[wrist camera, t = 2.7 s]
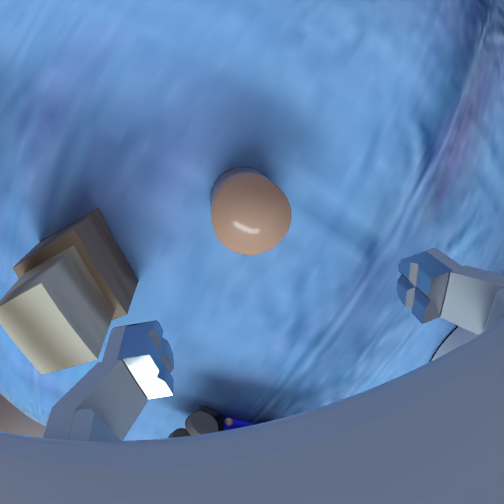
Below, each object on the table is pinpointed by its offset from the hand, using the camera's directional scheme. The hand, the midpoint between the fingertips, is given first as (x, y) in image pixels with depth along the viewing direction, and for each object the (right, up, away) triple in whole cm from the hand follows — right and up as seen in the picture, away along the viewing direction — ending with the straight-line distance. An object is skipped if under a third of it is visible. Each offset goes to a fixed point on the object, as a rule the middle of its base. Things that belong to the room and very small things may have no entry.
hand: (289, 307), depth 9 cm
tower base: (-15, +1, +13) cm, 20 cm away
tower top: (-14, -1, +9) cm, 17 cm away
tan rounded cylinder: (-2, +6, +13) cm, 15 cm away
